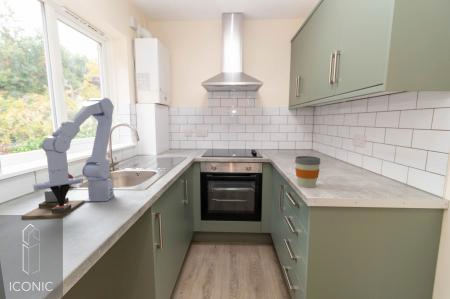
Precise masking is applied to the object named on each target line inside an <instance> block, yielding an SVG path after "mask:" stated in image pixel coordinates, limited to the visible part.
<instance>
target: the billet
mask: <svg viewBox="0 0 450 299" xmlns="http://www.w3.org/2000/svg"><path fill="white" fill-rule="evenodd" d="M44 201H45V203H58V201H57V198H56V196H55V195H54V193H53V192H52V190H51V189H50V188H48V189H47V190H44Z"/></svg>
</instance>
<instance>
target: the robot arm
mask: <svg viewBox="0 0 450 299" xmlns="http://www.w3.org/2000/svg"><path fill="white" fill-rule="evenodd" d="M114 107H115V106H114V104H113V103H112V100H111V99H110V98H108V97H102V98H100V97H99V98H96V97H95V98H87V99H86V100H85V101H84V102H82V106H81V108H79V110H78V111H77V113H76V114H75V115H74V116H73V118H72V119H70V120H65V121H63V122H61V124H60V127H58V129H56V131H54V132H52V135H49V136H47V137H45V138H44V139H43V141H42V144H40V145H41V149H42V150H43V151H44V152H45V156H46V159H47V160H46V161H47V170H48V181H44V182H40V183H33V184H32V185H33V186H32V187H33V191H34V192H35V191H36V192H37V191H39V190H45V189H51V190H52V192H53V193H54V195H55V196H56V198H57V201H58V204H59V206H64V202H65V198H67V194H68V192H69V190H70V187H71V186H72V185H77V184H84V178H83V177H85V180H87V191H88V192H87V193H88V197H87V198H86V199H85V203H86V202H90V203H91V202H108V201H109V200H111V199H112V198H113V197H114V196H115V192H114V191H115V190H114V181H113V179H112V178H108V177H109V176H110V173H111V168H110V166H111V164H110V163H111V162H110V161H109V160H108V159H107V158H106V157H107V153H108V148H109V147H108V145H109V141H110V136H111V130H112V123H113V113H114V109H115V108H114ZM91 116H92V117H93V118H94V119H95V120H96V121H97V125H96V131H95V137H94V140H93V141H94V142H93V147H92V152H91V155H90V157H88V158H87V159H86V160H85V164H84V166H83V167H82V170H81V173H82V175H83V177H74V178H70V179H69V177H68V173H69V168H68V156H67V151H68V150H70V148H71V143H72V140H73V139H74V138H76V136H77V135H79V134H78V133H80V132H81V125H82V124H84V123H85V122H86V121H87V120H88V119H89V118H90V117H91ZM71 184H72V185H71ZM69 185H71V186H70V187H69Z"/></svg>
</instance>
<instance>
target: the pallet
mask: <svg viewBox="0 0 450 299" xmlns="http://www.w3.org/2000/svg"><path fill="white" fill-rule="evenodd" d="M85 200H86V199H85ZM85 200H84V199H83V200H81V199H80V200H69V197H66V198H65V202H64V204H67V206H66V207H64V208H56V206H58V205H59V204H58V203H45V200H44V201H42V202H40V203H38V207H37V208H35V209H32V210H30V211H28V212H26V213H24V214H23V215H21V217H20V218H21V220H26V219H29V220H30V219H32V220H33V219H52V218H53V219H54V218H55V219H57V218H59V219H60V218H64V217H65V216H67V215H68V214H70V213H71V212H73V211H74V210H76V209H77V208H79V207H80V206H82V205H83V204H85V203H86V202H85Z"/></svg>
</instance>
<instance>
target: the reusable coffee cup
mask: <svg viewBox="0 0 450 299" xmlns="http://www.w3.org/2000/svg"><path fill="white" fill-rule="evenodd" d="M294 163H295V175H296V176H295V177H296V180H297V186H299V187H301V188H305V189H308V188H309V189H311V188H315V187H316V185H317V180H318V178H319V175H320V165H321V158H320V157H317V156H309V155H306V156H305V155H301V156H300V155H299V156H296V157H295V161H294Z"/></svg>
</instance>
